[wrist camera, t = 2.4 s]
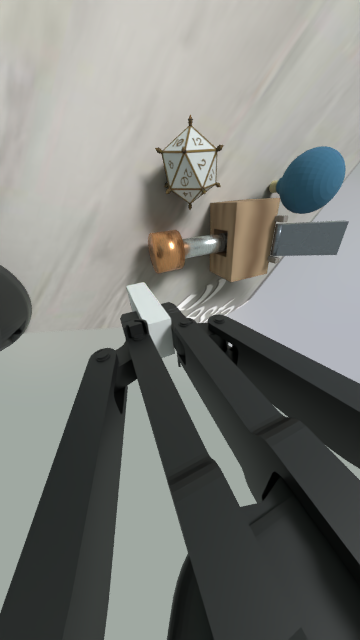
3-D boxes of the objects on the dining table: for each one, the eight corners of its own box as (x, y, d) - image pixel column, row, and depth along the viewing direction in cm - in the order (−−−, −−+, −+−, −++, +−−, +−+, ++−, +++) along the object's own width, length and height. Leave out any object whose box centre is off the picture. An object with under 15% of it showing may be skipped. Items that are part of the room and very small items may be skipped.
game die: (176, 188, 33) (199, 231, 30) (135, 158, 27) (160, 208, 24) (215, 134, 28) (248, 179, 25) (177, 80, 21) (215, 132, 18)
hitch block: (209, 270, 39) (237, 285, 32) (210, 203, 33) (245, 201, 25) (242, 263, 42) (275, 275, 34) (249, 199, 35) (292, 197, 28)
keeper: (269, 254, 34) (271, 255, 33) (275, 224, 31) (276, 224, 30) (333, 252, 31) (336, 254, 30) (344, 220, 29) (348, 221, 28)
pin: (151, 268, 34) (162, 278, 29) (146, 231, 30) (156, 235, 26) (227, 253, 38) (247, 260, 34) (229, 220, 35) (252, 222, 30)
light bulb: (269, 146, 32) (345, 121, 23) (295, 174, 36) (369, 162, 27) (245, 200, 35) (304, 197, 25) (272, 219, 39) (331, 224, 30)
